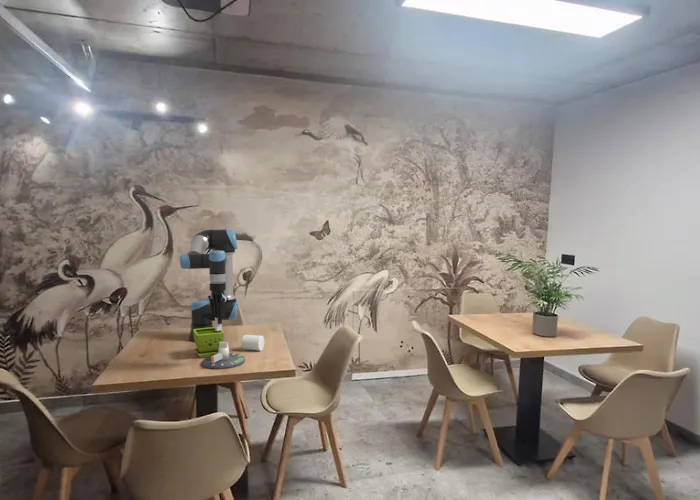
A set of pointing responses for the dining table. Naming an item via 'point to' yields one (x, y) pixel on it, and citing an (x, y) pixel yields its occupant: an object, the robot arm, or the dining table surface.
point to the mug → (252, 342)
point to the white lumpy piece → (221, 353)
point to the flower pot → (207, 341)
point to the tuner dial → (225, 362)
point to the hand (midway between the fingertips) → (218, 330)
